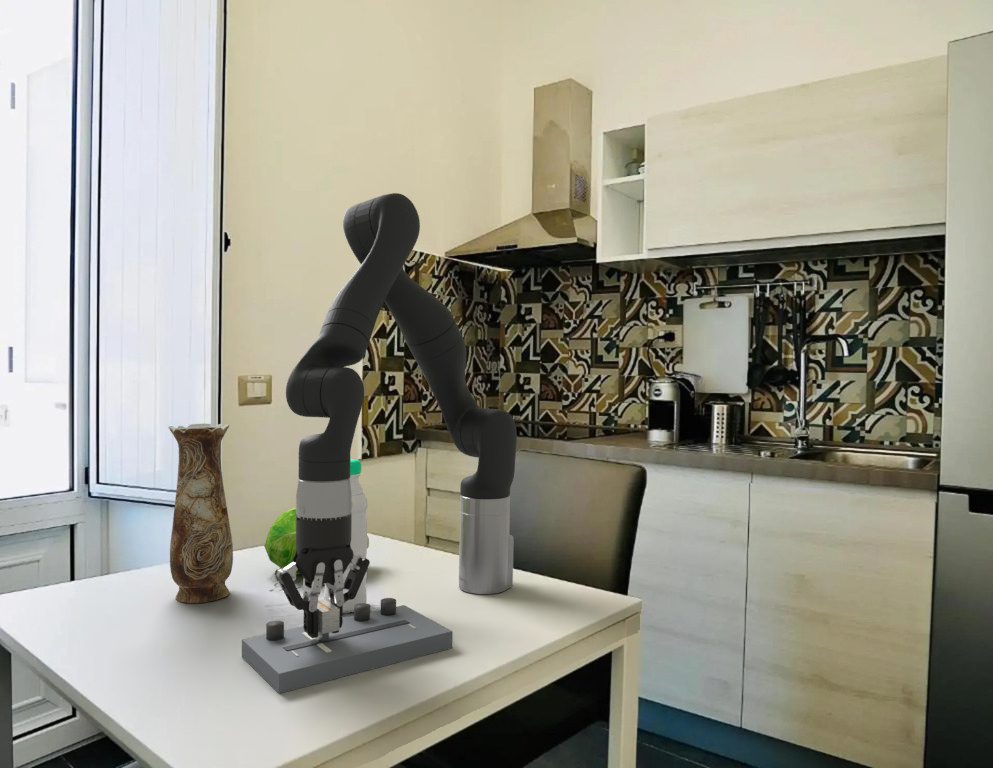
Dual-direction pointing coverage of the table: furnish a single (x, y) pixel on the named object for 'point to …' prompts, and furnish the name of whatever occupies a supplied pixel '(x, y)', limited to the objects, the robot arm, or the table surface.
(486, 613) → the table surface
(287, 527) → the lettuce
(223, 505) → the vase
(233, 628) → the table surface
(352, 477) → the water bottle
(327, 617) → the fader
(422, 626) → the console
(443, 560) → the table surface
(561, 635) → the table surface
